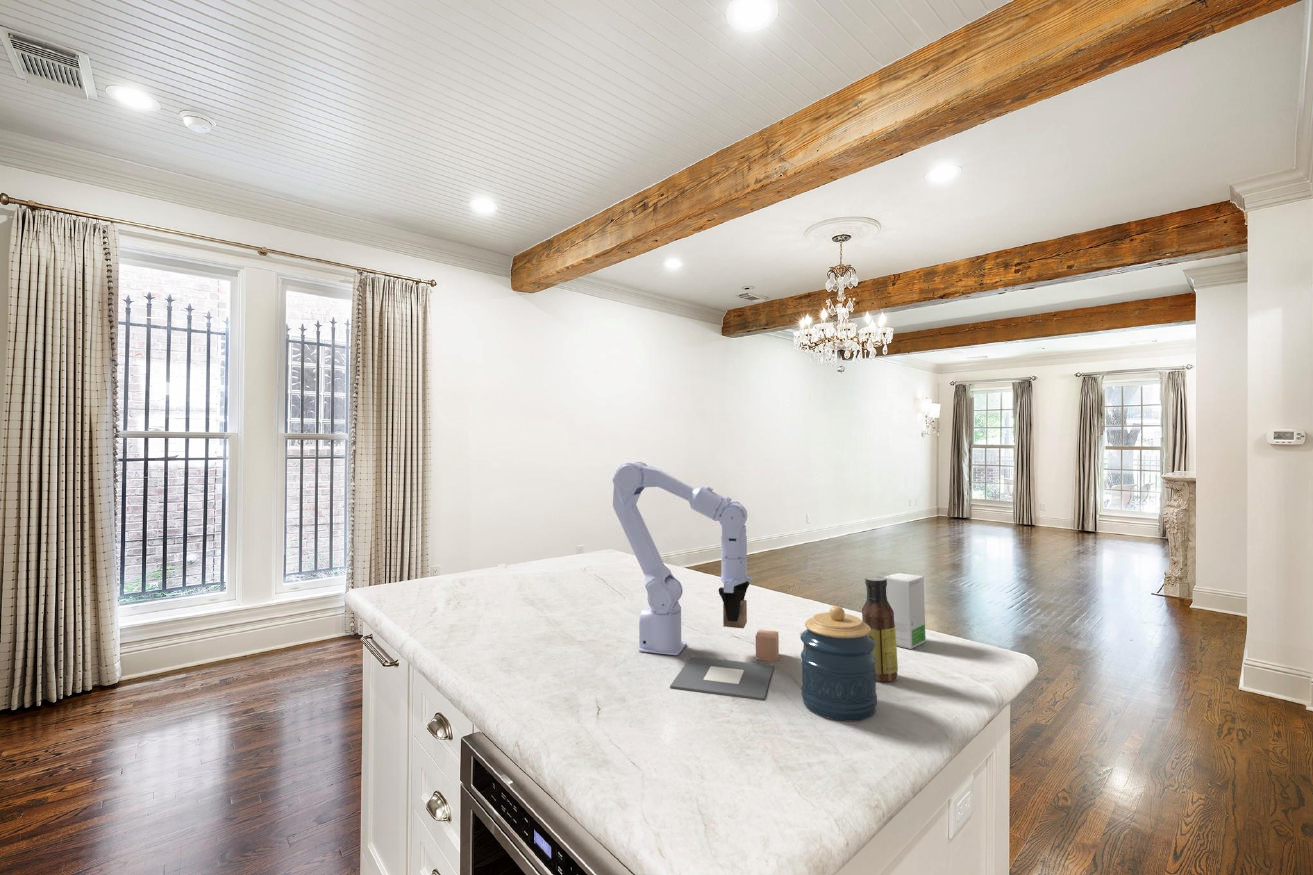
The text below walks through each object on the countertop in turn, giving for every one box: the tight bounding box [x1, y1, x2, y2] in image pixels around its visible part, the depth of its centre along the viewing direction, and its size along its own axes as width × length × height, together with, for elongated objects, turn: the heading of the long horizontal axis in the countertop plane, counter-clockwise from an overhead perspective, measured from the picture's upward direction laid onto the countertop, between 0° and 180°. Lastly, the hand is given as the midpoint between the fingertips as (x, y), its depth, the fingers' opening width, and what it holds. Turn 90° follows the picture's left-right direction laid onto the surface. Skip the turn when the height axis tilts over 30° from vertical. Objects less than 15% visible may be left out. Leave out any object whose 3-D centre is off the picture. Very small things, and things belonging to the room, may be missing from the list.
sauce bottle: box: [861, 575, 899, 683], centre depth 111 cm, size 7×6×20 cm
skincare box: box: [884, 572, 927, 650], centre depth 131 cm, size 8×7×16 cm
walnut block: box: [722, 599, 748, 629], centre depth 124 cm, size 4×4×5 cm
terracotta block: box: [755, 629, 780, 662], centre depth 123 cm, size 4×4×5 cm
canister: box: [799, 605, 878, 722], centre depth 99 cm, size 13×13×18 cm
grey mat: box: [669, 655, 775, 701], centre depth 112 cm, size 18×16×1 cm
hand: (734, 617), depth 124 cm, fingers closed on walnut block, 4 cm apart
